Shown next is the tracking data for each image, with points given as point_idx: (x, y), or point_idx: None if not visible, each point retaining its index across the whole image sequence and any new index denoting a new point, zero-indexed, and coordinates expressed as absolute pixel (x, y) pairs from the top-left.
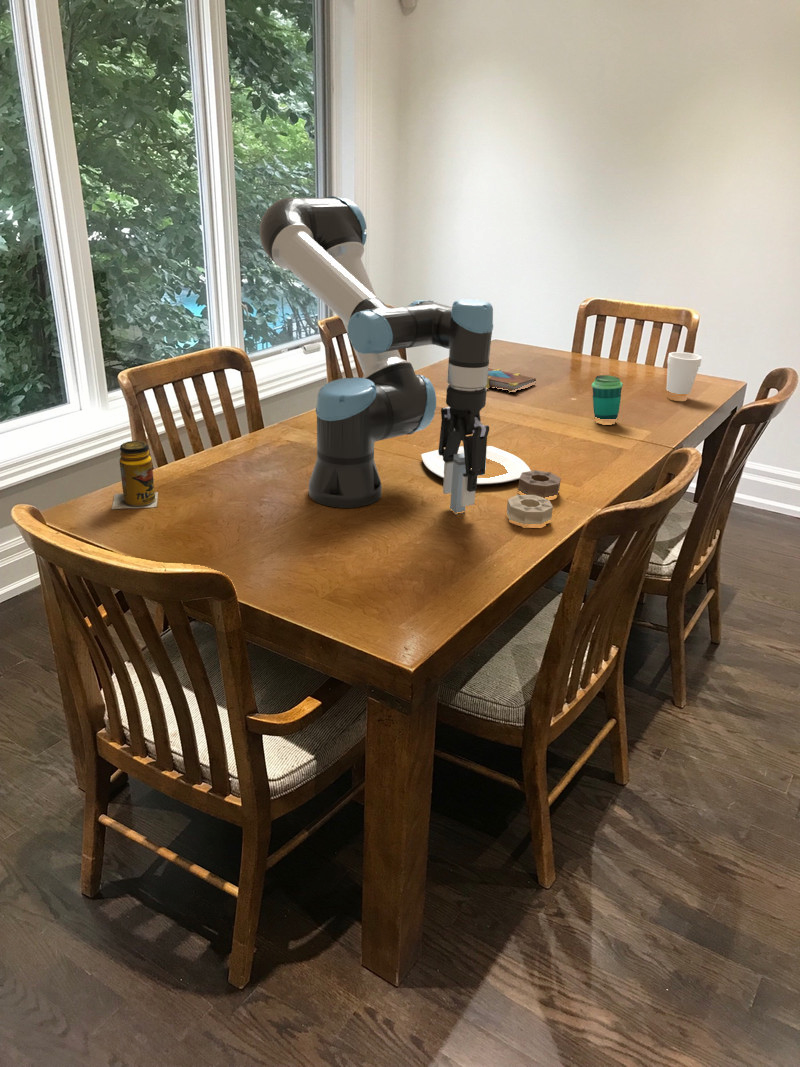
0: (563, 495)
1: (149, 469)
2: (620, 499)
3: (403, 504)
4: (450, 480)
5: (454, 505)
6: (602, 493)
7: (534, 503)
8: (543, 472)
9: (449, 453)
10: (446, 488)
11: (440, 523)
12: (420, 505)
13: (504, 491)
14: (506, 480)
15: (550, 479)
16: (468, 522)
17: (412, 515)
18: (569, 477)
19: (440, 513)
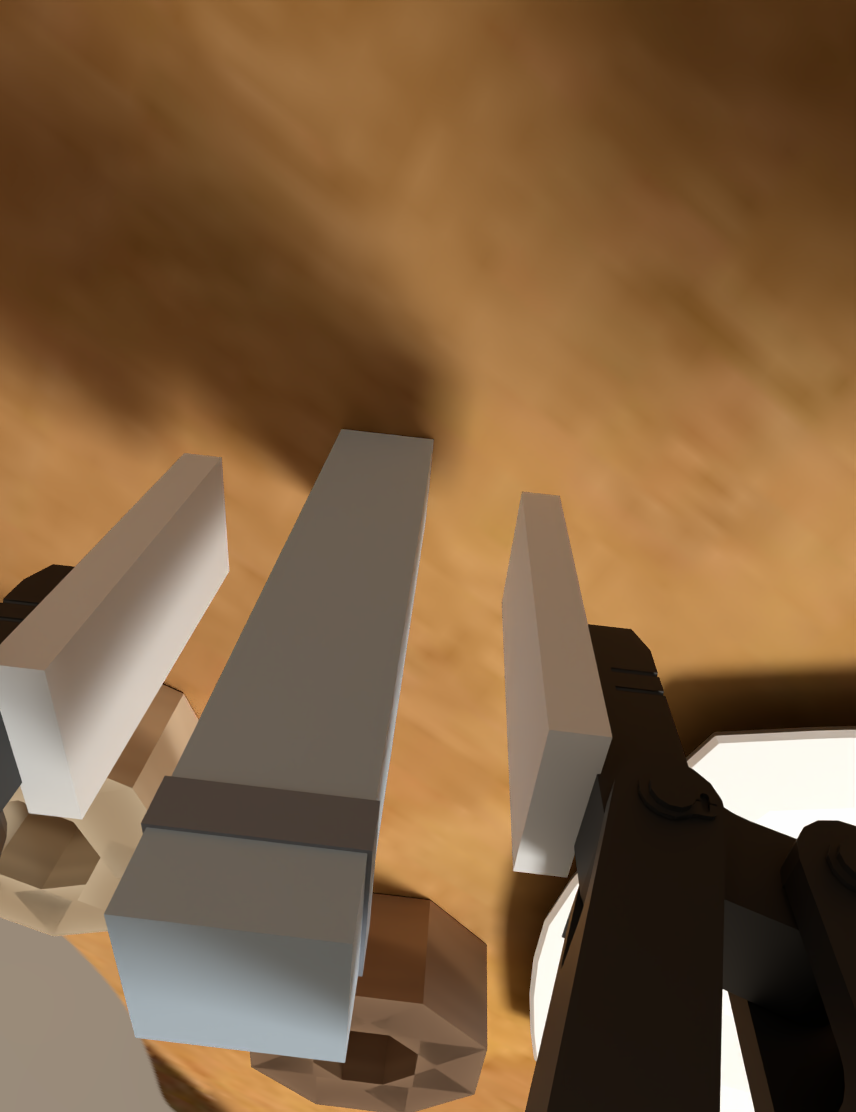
0: None
1: None
2: (178, 1090)
3: (820, 105)
4: (519, 620)
5: (357, 460)
6: (257, 1088)
7: (77, 865)
8: (423, 1099)
9: (578, 930)
10: (521, 533)
11: (232, 182)
12: (675, 268)
13: (497, 875)
14: (543, 951)
15: (322, 1073)
16: (169, 424)
17: (530, 9)
18: (462, 1106)
19: (423, 328)
